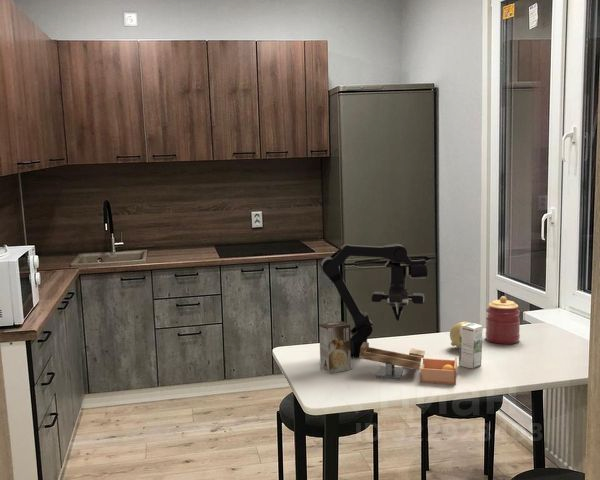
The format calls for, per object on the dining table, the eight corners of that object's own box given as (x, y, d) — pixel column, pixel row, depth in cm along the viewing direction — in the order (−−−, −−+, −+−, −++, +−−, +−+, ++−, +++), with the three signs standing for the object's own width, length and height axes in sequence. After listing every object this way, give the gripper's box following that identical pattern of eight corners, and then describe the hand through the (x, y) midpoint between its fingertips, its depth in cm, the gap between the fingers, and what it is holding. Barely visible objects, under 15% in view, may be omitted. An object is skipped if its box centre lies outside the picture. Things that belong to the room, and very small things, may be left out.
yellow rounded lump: (486, 348, 243) (486, 321, 241) (464, 354, 236) (464, 326, 235) (466, 343, 251) (466, 316, 250) (444, 348, 244) (444, 321, 243)
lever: (359, 358, 215) (360, 346, 215) (367, 344, 231) (368, 333, 231) (420, 370, 210) (422, 358, 210) (424, 355, 226) (425, 344, 226)
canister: (526, 342, 250) (527, 298, 248) (497, 346, 246) (498, 300, 244) (506, 334, 262) (507, 291, 260) (479, 337, 259) (479, 294, 256)
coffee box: (342, 364, 227) (341, 320, 225) (351, 369, 222) (351, 324, 220) (319, 368, 223) (318, 323, 221) (328, 374, 217) (328, 328, 215)
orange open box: (420, 382, 208) (420, 365, 208) (423, 370, 219) (423, 355, 218) (455, 384, 205) (455, 368, 205) (456, 373, 216) (456, 357, 215)
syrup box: (467, 361, 228) (467, 322, 226) (482, 365, 224) (482, 324, 222) (458, 365, 224) (458, 325, 222) (473, 369, 220) (474, 328, 218)
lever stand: (376, 378, 213) (376, 363, 212) (380, 368, 222) (380, 354, 222) (400, 379, 211) (400, 365, 210) (403, 370, 220) (403, 356, 219)
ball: (439, 374, 210) (445, 364, 209) (440, 370, 214) (446, 360, 213) (450, 380, 209) (456, 370, 208) (450, 376, 213) (456, 367, 212)
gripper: (369, 282, 229) (369, 324, 231) (422, 283, 224) (421, 327, 226) (373, 276, 239) (373, 317, 241) (424, 278, 234) (424, 319, 236)
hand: (397, 320), depth 236 cm, fingers closed
